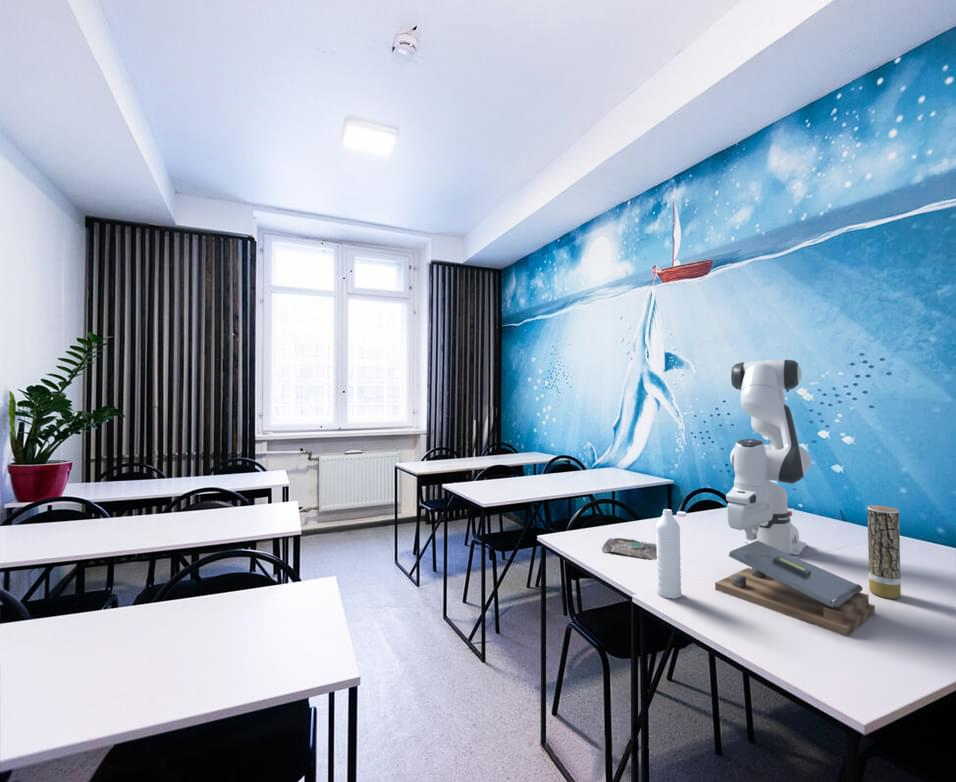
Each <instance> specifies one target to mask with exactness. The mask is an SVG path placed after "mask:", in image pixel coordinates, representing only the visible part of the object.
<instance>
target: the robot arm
mask: <svg viewBox="0 0 956 782" xmlns="http://www.w3.org/2000/svg"><path fill="white" fill-rule="evenodd" d="M802 373H803V371H802V369H801V366H800V365H799V363H798V362H797V361H796V360H793V359H784V360H783V359H764V360H756V361H755V360H754V361H747V362H743V361H741V362H738V363H736V364H734V365H733V366H732V367H731V370H730V372H729V381H730V383H731V386H732V387H733V388H734V389H735V390H740V406H741V408H742V410H743V411H744V412H745V413H746V414H747V415H749V416H751V417H750V423H751V425H750V426H751V428H752V430H753V431H754V432H756V433H757V434H759V435H761V436H763V437H766V438H767V439H769V440H770V444H765V443H764V441H762V440H759V439H755V438H745V439H739V440H738V441H736V442H735V445H734V447H733V448H732V450H730V455H729V460H730V461H729V462H730V463H731V466H732V467H731V469H732V471H733V472H734V474H735V476H734V480H733V487H732V488H731V489H730V490H729V492H727V493H726V494H725V499H726V501H727V502H728V503H727V506H726V507H727V508H726V509H727V510H726V511H727V523H728V525H729V528H730V529H734V530H738V531H743V530H744V532H745V535H746V536H745V538H744V541H743V542H744V543H746V544H750V543H752V542H755V541H757V540H758V541H760V542H762V543H764V544H767V545H769V546H771V547H774V548H776V549H778V550H780V551H783V552H785V553H787V554H789V555H796V556H799V555H800V554H801V553H802V552H803V551H804V549H805V548H806V547H807V542H805V541H802V540H800V535H799V534H800V532H799V529H798V528H797V527H796V526H795V525H794V524H793V523H792V522H791V517H792V516H793V511H792V510H788V493H787V490H786V489H785V488H784V487H782V486H781V485H780V484H778V483H775V482H780V483H785V484H786V483H787V484H791V485H792V484H795V483H797V482H799V481H800V480H802V479H803V478H804V477H805V475H806V473H807V471H808V470H809V469H810V467H811V464H812V459H811V458H812V457H811V455H810V454H809V452H808V451H807V449H805V448H803V447H802V446H800V445H799V441H798V435H797V431H796V430H797V429H796V426H795V421H794V419H793V414H792V411H791V408H790V407H789V406H788V405H787V404H786V399H785V393H784V390H785V391H786V393H789V392H790V390H793V389H796V387H798V385H799V384H800V382H801V381H802V377H803V376H802ZM774 481H775V482H774Z"/></svg>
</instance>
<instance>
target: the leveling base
mask: <svg viewBox="0 0 956 782" xmlns="http://www.w3.org/2000/svg"><path fill="white" fill-rule="evenodd" d="M714 589H716V591H718V590H719V592H721V591H722V593H724V594H727V595H730V596H733V597H736V598H738V599H741V600H743V601H747V602H750V603H752V604H755V605H758V606H760V607H764V608H766V609H769V610H772V611H774V612H776V613H777V612H778V613H781V614H783V615H786V616H789V617H791V618H794V619H797V620H800V621H802V622H805V623H808V624H811V625H813V626H816V625H817V626H816V627H819V628H822V629H824V630H825V629H826V630H827V631H831V632H833V633H837V634H839V635H842V636H845V637H848V636H849V635H851V633H853V632H855V630H857V629H858V628H859V627H860V626H861V625H863V624H864V623H865V622H866V621H867V620H868V619H869V618H871V617H872V616H873V615H874V614H876V605H875V604H872V603H870V602H869V598H870V597H869V594H868V593H863V592H859V593H858V594H857V595H855V596H854V597H852V598H851V599H850V600H848V601H847V602H845V603H844V604H843V605H841V606H840V607H839V608H837V609H833V608H832V607H830V606H828V605H826V604H824V603H822V602H820V601H818V600H816V599H814V598H812V597H810V596H808V595H806V594H804V593H802V592H800V591H798V590H796V589H794V588H792V587H790V586H788V585H786V584H784V583H782V582H780V581H778V580H776V579H774V578H772V577H770V576H768V575H766V574H764V573H762V572H760V571H758V570H756V569H754V568H752V567H747V568H745V569H744V568H743V569H742V570H740V571H738V572H736V573H733V574H732V575H729V576H727V577H725V578H722V579H720V580H718V581H716V582H714ZM871 615H872V616H871Z"/></svg>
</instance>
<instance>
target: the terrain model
mask: <svg viewBox="0 0 956 782" xmlns="http://www.w3.org/2000/svg"><path fill="white" fill-rule="evenodd" d="M601 551H602V553H604V554H609V553H611V554H610V555H615V554H616V556H617V555H618V556H622V557H628V556H629V558H634V559H635V558H636V559H641V560H647V559H648V561H653V560H655V561H657V543H653V542H644V541H638V540H635V539H630V538H629V539H628V538H621V537H620V538H619V537H618V538H617V537H614V538H613V537H612V538H611V537H610V538H609V539H607V540H606V542H605V543H604V544H603V547H602V548H601Z"/></svg>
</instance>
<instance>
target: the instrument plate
mask: <svg viewBox="0 0 956 782" xmlns="http://www.w3.org/2000/svg"><path fill="white" fill-rule="evenodd" d="M728 557H730V558H732V559H733V560H736V561H737V562H739V563H742V564H744V565H746V566H747V567H749V568H751V569H752V568H754V569H756V570H758V571H760V572H762V573H764V574H766V575H768V576H770V577H772V578H774V579H776V580H778V581H780V582H782V583H784V584H786V585H788V586H790V587H792V588H794V589H796V590H798V591H800V592H802V593H804V594H806V595H808V596H810V597H812V598H814V599H816V600H818V601H820V602H822V603H824V604H826V605H828V606H830V607H832V608H833V609H837V608H839V607H840V606H841V605H843V604H844V603H845V602H847V601H848V600H850V599H851V598H852V597H854V596H855V595H857V594H858V593H859V592H860V593H862V591H863V587H862V586H861V585H860V584H857V583H855V582H852V581H851V580H848V579H847V578H844V577H841V576H839V575H836V574H834V573H832V572H830V571H828V570H825V569H823V568H822V567H821V568H820V567H818V566H816V565H814V564H812V563H810V562H808V561H804V560H803V559H800V558H798V557H796V556H793V554H787V553H785V552H783V551H780V550H778V549H776V548H774V547H771V546H769V545H767V544H764V543H762V542H760V541H758V540H757V541H755V542H752V543H750V544H748V543H746V545H742V546H739V547H738V548H736V549H733V550H730V551H729V553H728Z"/></svg>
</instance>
